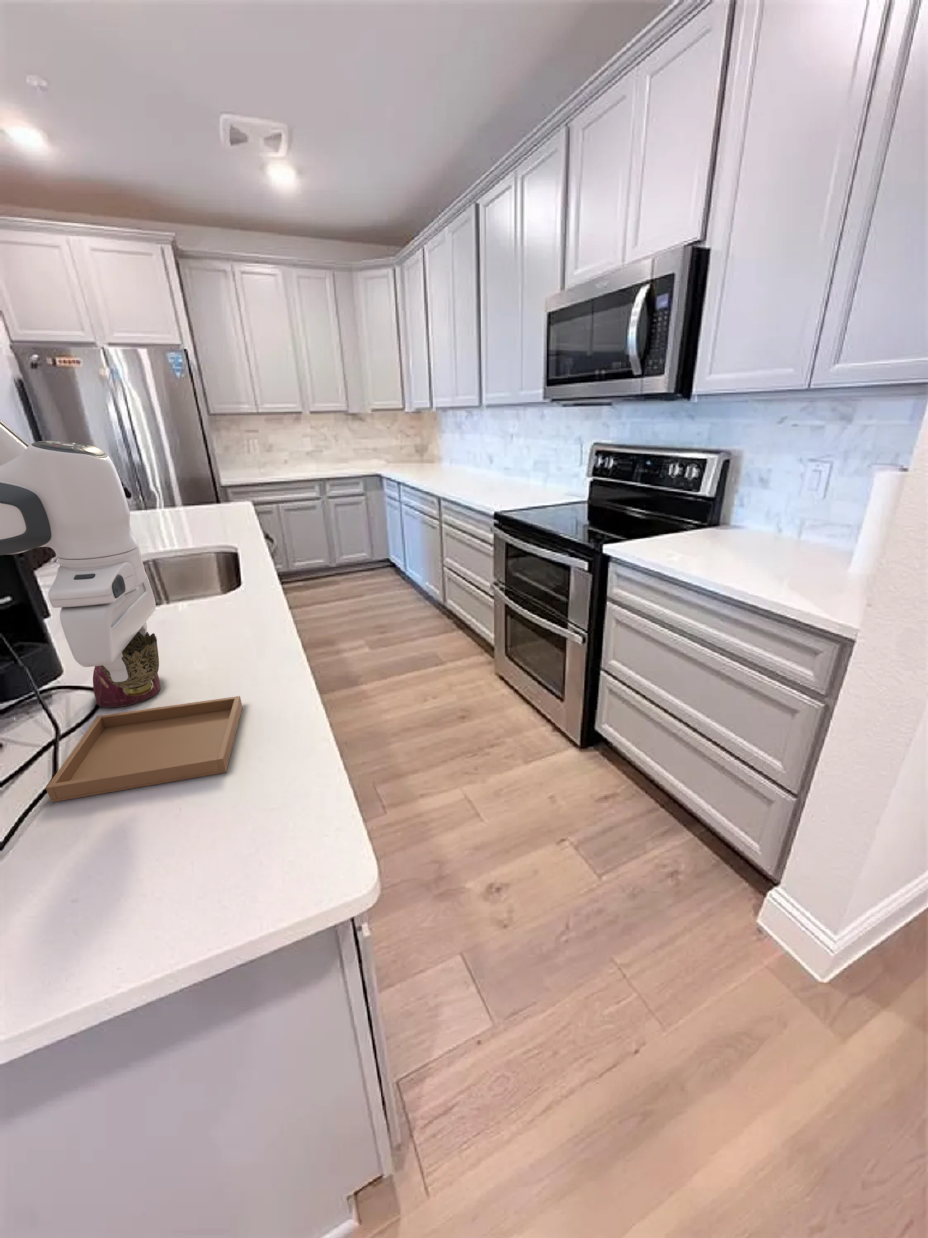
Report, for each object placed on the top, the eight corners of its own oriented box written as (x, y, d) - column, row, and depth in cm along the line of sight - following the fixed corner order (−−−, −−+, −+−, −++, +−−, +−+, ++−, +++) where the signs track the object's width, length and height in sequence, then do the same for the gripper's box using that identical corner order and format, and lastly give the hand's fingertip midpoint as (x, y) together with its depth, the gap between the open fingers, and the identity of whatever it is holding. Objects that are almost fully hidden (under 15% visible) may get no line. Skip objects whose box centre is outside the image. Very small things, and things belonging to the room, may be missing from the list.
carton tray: (51, 802, 67) (45, 788, 66) (101, 728, 83) (97, 715, 82) (226, 772, 72) (222, 758, 71) (242, 707, 88) (240, 695, 87)
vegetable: (147, 690, 100) (144, 615, 98) (172, 699, 94) (168, 619, 92) (84, 701, 92) (79, 619, 90) (106, 712, 86) (101, 624, 84)
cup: (161, 700, 71) (148, 649, 68) (101, 709, 69) (84, 656, 66) (173, 676, 78) (161, 628, 75) (118, 683, 76) (104, 634, 73)
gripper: (107, 553, 75) (131, 638, 80) (39, 599, 57) (76, 705, 62) (154, 550, 76) (175, 633, 82) (103, 594, 58) (134, 698, 64)
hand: (132, 665), depth 72 cm, fingers closed on cup, 7 cm apart
